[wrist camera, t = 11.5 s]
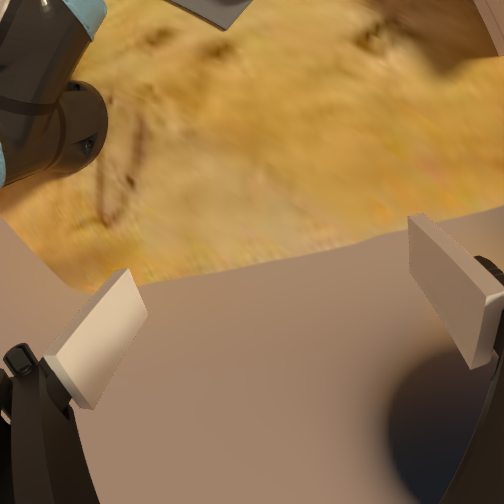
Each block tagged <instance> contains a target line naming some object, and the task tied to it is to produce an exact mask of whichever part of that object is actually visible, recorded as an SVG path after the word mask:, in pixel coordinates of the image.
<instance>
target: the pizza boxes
mask: <svg viewBox="0 0 504 504" xmlns="http://www.w3.org/2000/svg"><path fill="white" fill-rule="evenodd" d="M473 1H474V3H475V5H476V7H477V9H478V11H479V13H480V15H481V17H482V19H483V21H484V23H485V25H486V27H487V29H488V32H489V34H490V36H491V38H492V41H493V43H494V45H495V48H496V50H497V53H498V55H499V56H504V0H473Z"/></svg>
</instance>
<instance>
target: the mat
mask: <svg viewBox="0 0 504 504" xmlns="http://www.w3.org/2000/svg"><path fill="white" fill-rule="evenodd" d="M170 1H172V2H175V3H177V4H179V5H181V6H183V7H185V8H187V9H189V10H191V11H193V12H195V13H196V14H198V15H200V16H202V17H204V18H206V19H208V20H210V21H211V22H213V23H215V24H217V25H219V26H220V27H222V28H224V29H225V30H228V28H229V27H230V26H231V25H232V24H233V22H234V21H235V20H236V19H237V18H238V16H239V15H240V14H241V13H242V12H243V11H244V10H245V8H246V7H247V6H248V5H249V4H250V3H251V2H252V1H253V0H170Z"/></svg>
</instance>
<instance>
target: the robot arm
mask: <svg viewBox="0 0 504 504" xmlns="http://www.w3.org/2000/svg"><path fill="white" fill-rule="evenodd" d="M106 14H107V6H106V4H105V2H104V1H103V0H0V188H2V187H4V186H7V185H9V184H11V183H14V182H16V181H18V180H21V179H23V178H25V177H28V176H30V175H33V174H35V173H38V172H40V171H43V170H44V171H50V172H56V173H70V172H74V171H76V170H79V169H82V168H84V167H86V166H87V165H89V164H90V163H91V162H92V161H93V160H94V159H95V158H96V157H97V155H98V154H99V152H100V151H101V149H102V147H103V144H104V142H105V138H106V134H107V128H108V116H107V110H106V106H105V103H104V100H103V98H102V96H101V95H100V93H99V92H98V91H97V90H96V89H95V88H94V87H93V86H92V85H90V84H88V83H86V82H83V81H75V80H69V79H70V77H71V75H72V74H73V72H74V70H75V68H76V66H77V64H78V63H79V61H80V59H81V57H82V56H83V54H84V52H85V51H86V49H87V47H88V45H89V44H90V42H93V40H94V35H95V33H96V32H97V30H98V28H99V27H100V25H101V23H102V22H103V20H104V18H105V16H106ZM408 234H409V261H410V262H409V264H410V265H409V266H410V273H411V275H412V276H413V277H414V279H415V280H416V282H417V283H418V285H419V286H420V288H421V289H422V291H423V292H424V294H425V295H426V297H427V298H428V300H429V301H430V303H431V304H432V306H433V307H434V309H435V310H436V312H437V314H438V315H439V317H440V318H441V320H442V322H443V323H444V325H445V327H446V328H447V330H448V332H449V333H450V335H451V336H452V338H453V340H454V342H455V343H456V345H457V347H458V348H459V350H460V352H461V354H462V355H463V357H464V359H465V360H466V362H467V364H468V366H469V368H470V369H474V368H476V367H479V366H482V365H485V364H487V363H489V362H490V359H491V356H492V352H493V349H494V350H495V351H496V353H497V354H498V356H499V359H498V362H497V365H496V367H495V371H494V374H493V376H492V379H491V381H492V382H491V386H490V389H489V392H488V395H487V398H486V401H485V404H484V407H483V410H482V413H481V416H480V418H479V421H478V423H477V426H476V429H475V431H474V434H473V436H472V438H471V441H470V443H469V446H468V448H467V450H466V453H465V455H464V457H463V459H462V462H461V463H460V466H459V467H458V470H457V472H456V474H455V476H454V478H453V479H452V481H451V484H450V485H449V487H448V489H447V491H446V493H445V494H444V496H443V498H442V500H441V502H440V503H439V504H504V273H503V272H502V271H501V270H500V269H498V268H497V266H496V265H495V264H493V263H492V262H491V261H490V260H488V259H486V258H484V257H482V256H475V257H473V256H472V255H471V254H469V253H468V252H467V251H466V250H465V249H464V248H463V247H462V246H461V245H460V244H458V243H457V242H456V241H455V240H454V239H453V238H452V237H450V236H449V235H448V234H447V233H446V232H445V231H443V230H442V229H441V228H440V227H439V226H438V225H436V224H435V223H434V222H433V221H432V220H430V219H429V218H428V217H427V216H426V215H424V214H423V213H421V214H416V215H410V216H408ZM147 316H148V312H147V310H146V308H145V306H144V303H143V301H142V299H141V297H140V294H139V292H138V290H137V287H136V285H135V283H134V280H133V278H132V275H131V273H130V270H129V268H126V269H121V270H116V271H115V272H114V273H113V274H112V276H111V277H110V278H109V279H108V280H107V281H106V282H105V283H104V284H103V285H102V286H101V287H100V289H99V290H98V291H97V292H96V293H95V294H94V295H93V296H92V297H91V299H90V300H89V301H88V302H87V303H86V304H85V305H84V306H83V308H82V309H81V310H80V311H79V312H78V313H77V315H76V316H75V317H74V318H73V319H72V320H71V322H70V323H69V324H68V325H67V326H66V327H65V328H64V330H63V331H62V332H61V333H60V334H59V336H58V337H57V338H56V339H55V341H54V342H53V343H52V344H51V345H50V347H49V348H48V349H47V350H46V352H45V353H44V354H43V357H42V358H41V360H40V361H39V362H38V360H37V359H36V357H35V356H34V354H33V352H32V351H31V349H30V348H29V346H28V344H26V343H21V344H18V345H16V346H14V347H13V348H11V349H10V350H9V351H8V352H7V353H6V354H5V356H4V358H3V361H4V362H5V364H6V365H7V367H8V368H9V370H10V371H11V372H12V374H13V375H14V377H10V378H9V377H8V375H7V374H6V372H5V371H4V369H1V368H0V504H100V502H99V500H98V497H97V494H96V491H95V488H94V486H93V483H92V479H91V476H90V473H89V470H88V466H87V463H86V460H85V456H84V453H83V449H82V445H81V441H80V437H79V433H78V429H77V425H76V421H75V416H74V411H73V409H72V407H71V406H70V405H69V402H70V400H71V398H73V399H74V401H75V402H76V404H77V405H78V406H79V407H80V408H83V409H91V410H94V408H95V407H96V405H97V403H98V401H99V399H100V398H101V396H102V394H103V392H104V390H105V388H106V387H107V385H108V383H109V381H110V379H111V378H112V376H113V374H114V372H115V371H116V369H117V367H118V365H119V364H120V362H121V360H122V358H123V356H124V355H125V353H126V351H127V350H128V348H129V346H130V345H131V343H132V341H133V340H134V338H135V336H136V334H137V333H138V331H139V329H140V328H141V326H142V324H143V323H144V321H145V319H146V318H147ZM1 410H2V411H3V412H4V413H5V414H6V415H7V416H8V418H9V419H10V420H11V422H10V424H8V423H7V422H6V421H5V420H4V419H3V418H2V416H1Z"/></svg>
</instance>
